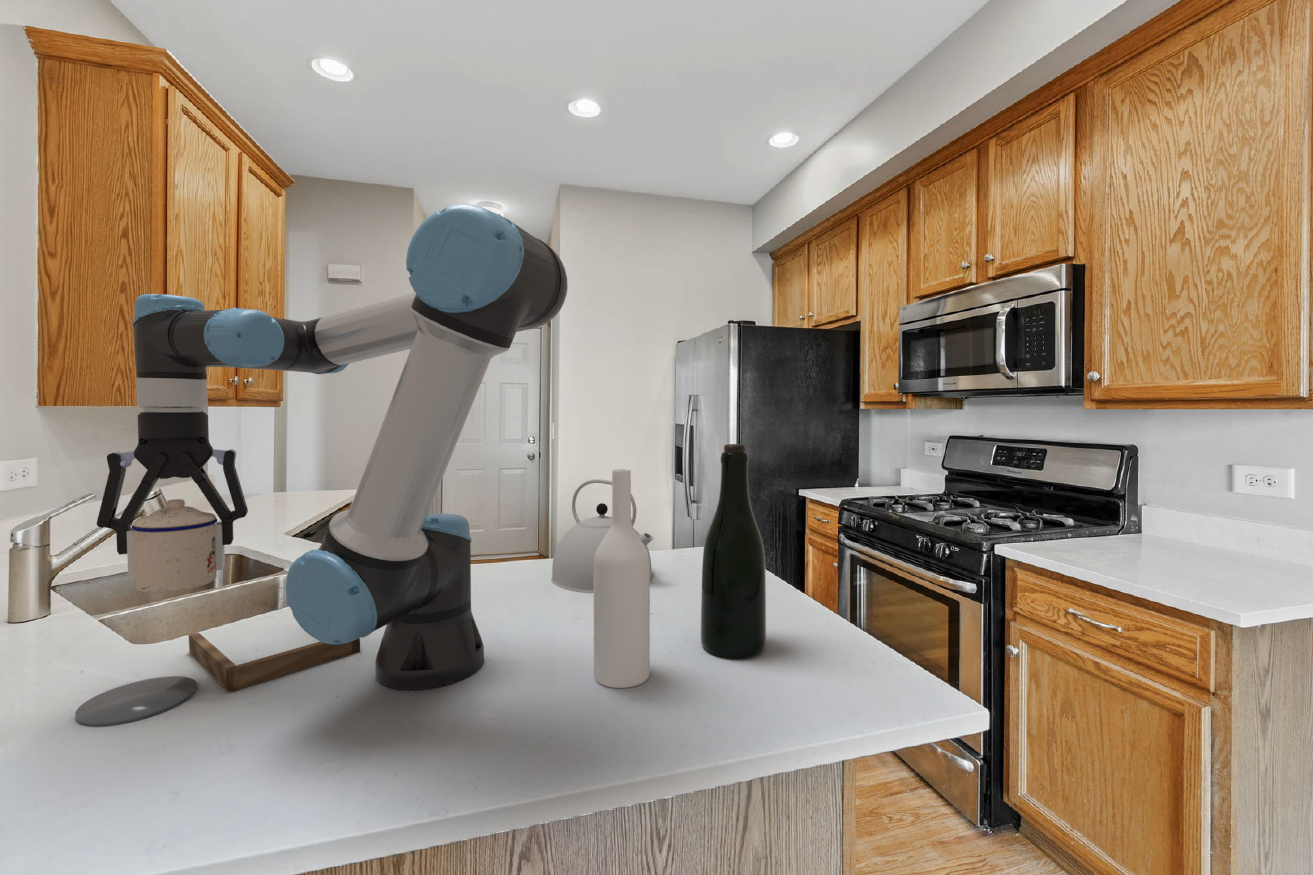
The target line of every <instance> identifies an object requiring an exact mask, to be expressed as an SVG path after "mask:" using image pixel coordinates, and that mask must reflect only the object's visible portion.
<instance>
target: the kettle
mask: <svg viewBox="0 0 1313 875" xmlns="http://www.w3.org/2000/svg"><path fill="white" fill-rule="evenodd" d="M591 484H603V485H604V484H605V485H610V486H612V480H607V479H606V480H605V479H589V480H587V481H585V482H583V483H581V484H580V485H579V486H578V487H577V488H576V489H575V491H574V494H572V500H571V510H572V511H571V512H572V514H573V518H574V521H575V522H576V524H575V525H573V526H572V527H571V528H570V529H569V530H568V531H567V532H566V533H565V534H564V535H563V537H562V538H561V540H560V541H559V542H558V544H557V546H556V549H555V551H554V555H553V560H552V568H551V569H552V570H551V571H552V572H551V575H552V576H551V583H552V584H553V585H554V586H556V587H558V588H560V589H563V590H567V591H570V592H576V593H583V594H594V576H593V566H594V555H595V553H596V550H597V549H598V547H599V545H600V543H601V542H602V540H603V538H604V537H605V535H606V533H607V532H608V530H609V528H610V526H611V524H612V516H608V515H607V516H606V514H607V513H608V511H609V509H608V505H607V504H606V503H603V502H601V503H599V504H597V506H596V508H595V509H596V512H597V514H598V515H599V516H593V517H588V518H586V519H583V520H581V521H580V519H579V516H578V513H577V511H576V502H577V501H576V500H577V497H578V494H579V492H581V490H582V489H583V488H584V487H585V486H587V485H591ZM631 508H632V514H631V522H632V526H633V527H634V525H635V522H636V519H637V505H636V501H635V498H634V496H633V494H632V493H631ZM634 530H635V531H636V533H637V534H638V536H639V538H640V539H641V541H642V542H643V544H644V546H645V548H646V549H647V551H648V554H649V559H650V582H651V581H652V579H653V575H652V561H651V560H652V559H651V553H650V551H649V547H648V545H649V544H650V543H651V542H652V541H653V540H654V537H653V536H652V535H651V534H650V533H647V532H644V533H641V534H640V533H639V531H637V529H635V528H634Z"/></svg>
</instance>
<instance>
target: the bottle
mask: <svg viewBox="0 0 1313 875" xmlns="http://www.w3.org/2000/svg"><path fill="white" fill-rule="evenodd" d="M631 471H632V470H631V469H630V468H614V469H612V473H611V474H612V475H611V477H612V479H611V481H612V485H611V488H612V489H611V494H612V495H611V498H612V500H611V503H612V506H611V508H612V509H611V510H612V511H611V513H612V514H611V517H612V524H611V526H610V528H609V530H608V532H607V533H606V535H605V537H604V538H603V540H602V542H601V543H600V545H599V547H598V549H597V550H596V553H595V555H594V566H593V576H594V593H593V677H594V680H596V682H597V683H598V684H600V685H602V686H604V687H608V688H613V689H627V688H632V687H637V686H640V685H642V684H644V683H645V682H647V681H648V679H649V677H650V671H651V670H650V669H651V668H650V667H651V666H650V665H651V660H650V658H651V655H650V654H651V650H650V649H651V648H650V647H651V646H650V645H651V644H650V643H651V642H650V641H651V638H650V637H651V636H650V635H651V631H650V630H651V627H650V626H651V622H650V621H651V619H650V616H651V611H650V610H651V607H650V606H651V602H650V600H651V599H650V598H651V588H650V587H651V584H650V582H651V581H650V559H649V554H648V551H647V549H646V548H645V546H644V544H643V542H642V541H641V539H640V538H639V536H638V534H637V533H636V531H637V530H636V529H635V528H634V525H633V526H632V522H631V520H632V503H631V494H632V492H631V491H632V488H631V487H632V484H631V483H632V482H631V481H632V480H631V479H632V477H631V474H632V472H631ZM634 529H635V530H636V531H635V530H634Z"/></svg>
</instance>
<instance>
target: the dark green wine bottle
mask: <svg viewBox="0 0 1313 875" xmlns="http://www.w3.org/2000/svg"><path fill="white" fill-rule="evenodd" d="M749 460H750V459H749V454H748V452H746V446H745V445H744V444H741V443H740V444H739V443H731V444H730V443H728V444H725V445H724V447H723V452H721V455H720V464H721V467H720V469H721V470H720V472H721V474H720V488H719V496H718V502H717V506H716V510H715V512H714V514H713V517H712V520H711V522H710V525H709V529H708V531H707V533H706V536H705V541H704V545H703V553H702V565H701V566H702V568H701V576H702V577H701V597H700V598H701V599H700V600H701V602H700V606H701V608H700V642H701V645H702V646H703V648H704V649H705V650H707V651H708V652H709V653H711V654H713V655H716V656H719V657H722V658H727V659H728V658H729V659H744V658H751V657H754V656H756V655H759V654H761V652H762V651H763V650H764V649H765V646H766V641H767V596H766V595H767V592H766V591H767V588H766V587H767V586H766V580H767V579H766V556H765V553H766V552H765V548H764V542H763V538H762V534H761V532H760V530H759V526H758V524H757V521H756V518H755V515H754V512H753V509H752V505H751V504H752V503H751V500H750V493H749V478H748V477H749V476H748V475H749V474H748V473H749V472H748V471H749V470H748V467H749V466H748V465H749Z"/></svg>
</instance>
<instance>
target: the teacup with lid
mask: <svg viewBox="0 0 1313 875" xmlns="http://www.w3.org/2000/svg"><path fill="white" fill-rule="evenodd" d="M185 505H186V501H185V500H184V499H181V498H177V499H175V498H174V499H170V500H167V501H166V502H165V506H166V507H162V508H160V509H157V510H156V511H154V512H152V513H151V514H149V515H146V516H143V517H140V518H137V519H136V520H134V521H133V523H132V525H131V528H132V529H133V530H134V546H135V579H134V580H135V589H136V590H138V592H142V593H150V594H151V593H153V594H155V593H156V594H158V593H159V594H162V593H163V594H164V593H174V592H179V591H180V592H181V591H185V590H186V591H187V590H192V589H195V588H199V587H203V586H205V585H208V584H210V583H212V582H214V581H215V579H216V578H217V570H216V547H215V524H216V523H217V522H218V519H217V516H216V515H215V514H214V513H212V512H206V511H201V510H200V509H198V508H195V507H194V506H185Z"/></svg>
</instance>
